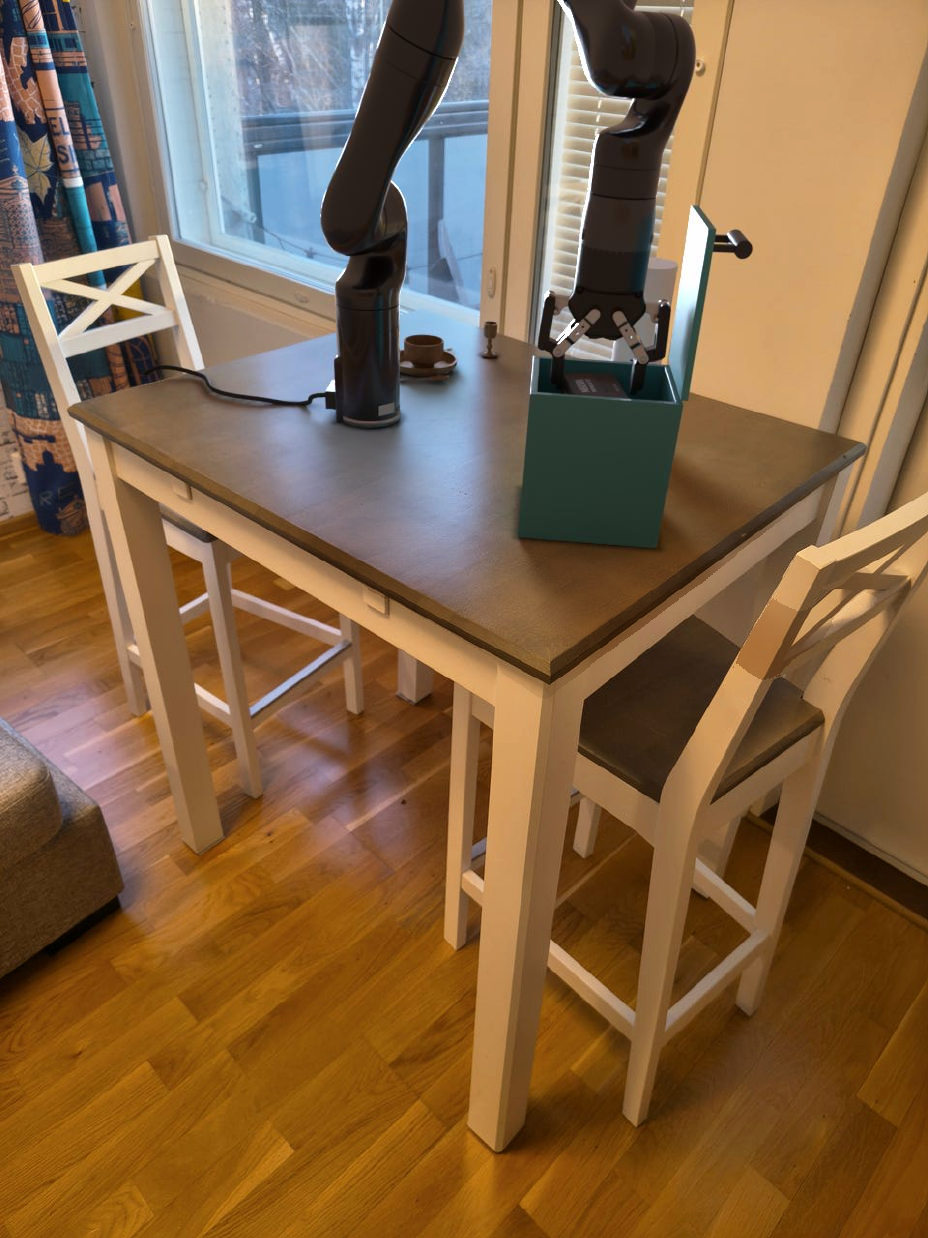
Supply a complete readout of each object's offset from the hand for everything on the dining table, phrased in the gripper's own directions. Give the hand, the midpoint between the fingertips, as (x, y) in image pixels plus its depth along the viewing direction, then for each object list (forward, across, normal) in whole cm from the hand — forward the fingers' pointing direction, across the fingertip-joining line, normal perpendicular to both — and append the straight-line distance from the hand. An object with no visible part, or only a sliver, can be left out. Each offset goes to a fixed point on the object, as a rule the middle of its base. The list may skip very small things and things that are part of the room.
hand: (595, 390), depth 102 cm
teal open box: (+16, -1, 0) cm, 16 cm away
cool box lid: (-10, -8, 0) cm, 13 cm away
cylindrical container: (+17, -7, -28) cm, 33 cm away
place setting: (+17, +23, -54) cm, 61 cm away
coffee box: (+16, 0, 0) cm, 16 cm away
